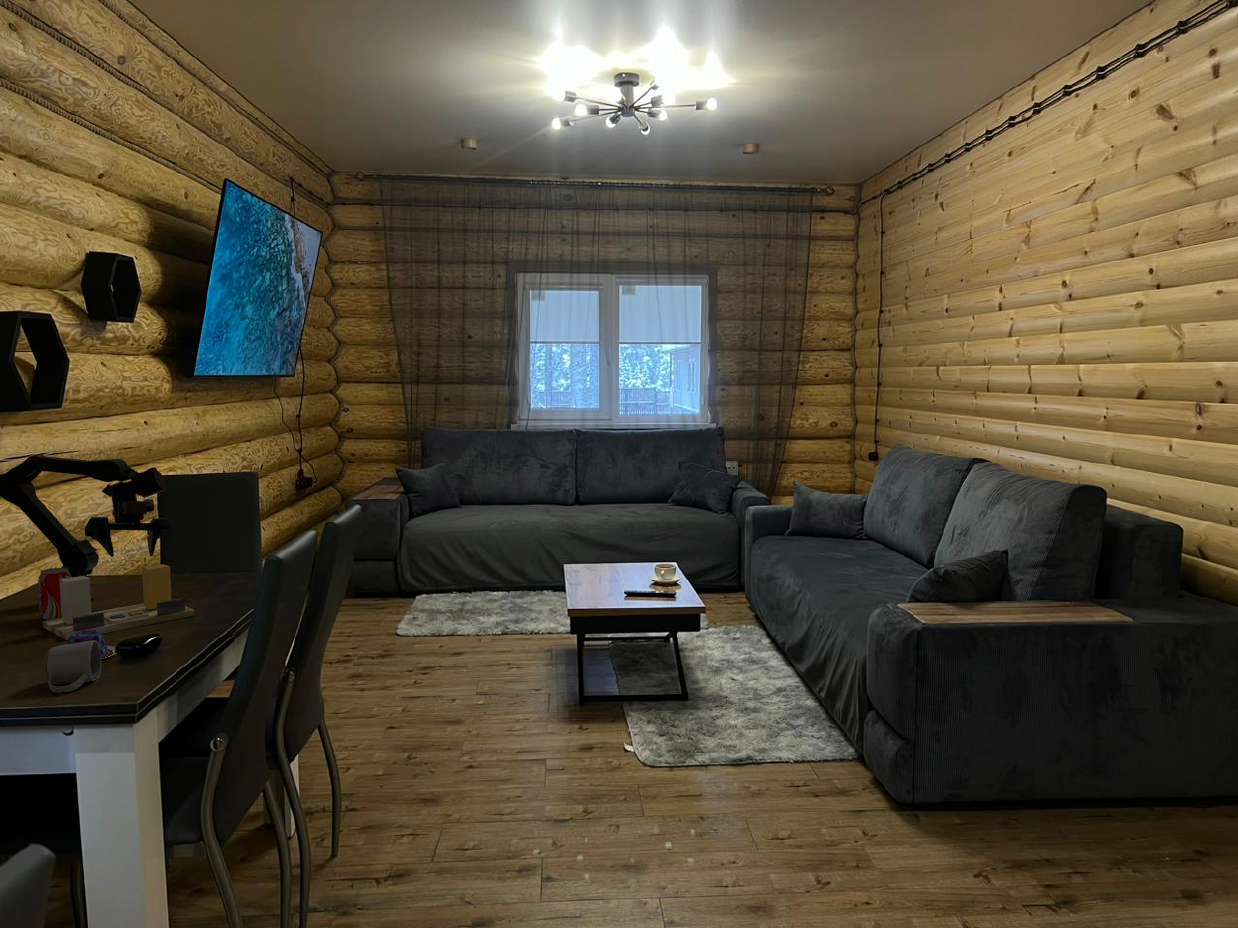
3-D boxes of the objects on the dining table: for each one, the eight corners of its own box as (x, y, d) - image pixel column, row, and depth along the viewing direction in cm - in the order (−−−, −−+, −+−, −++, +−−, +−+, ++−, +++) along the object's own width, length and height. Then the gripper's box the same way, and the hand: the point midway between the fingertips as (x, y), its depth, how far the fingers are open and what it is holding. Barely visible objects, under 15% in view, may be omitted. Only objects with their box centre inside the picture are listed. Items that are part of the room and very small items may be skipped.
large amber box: (144, 606, 216) (142, 567, 215) (165, 603, 220) (163, 564, 219) (150, 609, 214) (148, 569, 213) (171, 605, 217) (169, 566, 216)
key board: (43, 627, 204) (41, 608, 204) (167, 604, 225) (166, 587, 225) (66, 640, 194) (65, 620, 193) (194, 615, 215) (193, 597, 214)
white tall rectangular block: (61, 621, 203) (59, 579, 202) (85, 617, 206) (83, 575, 205) (67, 624, 200) (65, 581, 199) (91, 620, 204) (89, 578, 203)
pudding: (54, 670, 174) (53, 644, 174) (51, 655, 184) (49, 631, 183) (123, 659, 181) (121, 634, 181) (116, 645, 191) (114, 622, 190)
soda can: (57, 622, 208) (54, 573, 207) (32, 621, 210) (29, 572, 209) (81, 615, 215) (78, 567, 214) (57, 613, 217) (54, 566, 216)
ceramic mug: (55, 677, 169) (52, 639, 168) (102, 673, 172) (100, 635, 171) (37, 697, 159) (35, 656, 158) (88, 692, 161) (86, 652, 161)
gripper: (94, 485, 216) (100, 540, 210) (173, 488, 230) (182, 540, 223) (81, 508, 222) (87, 562, 216) (159, 510, 236) (167, 561, 230)
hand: (132, 555), depth 221 cm, fingers open, 9 cm apart
